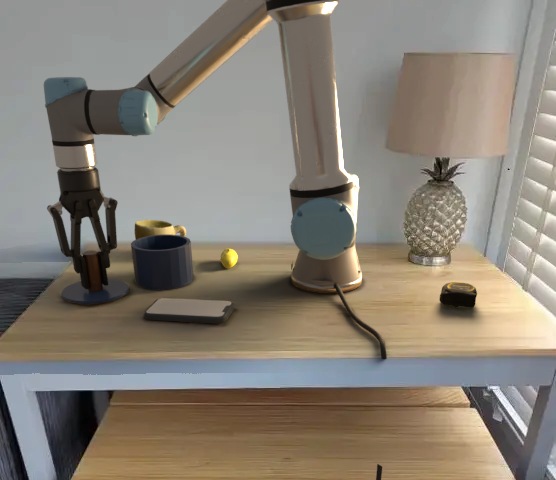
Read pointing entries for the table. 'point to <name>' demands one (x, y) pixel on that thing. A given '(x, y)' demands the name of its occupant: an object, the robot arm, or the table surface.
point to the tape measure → (458, 295)
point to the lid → (94, 285)
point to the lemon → (228, 258)
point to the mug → (157, 228)
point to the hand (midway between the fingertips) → (95, 285)
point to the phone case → (189, 310)
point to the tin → (162, 261)
